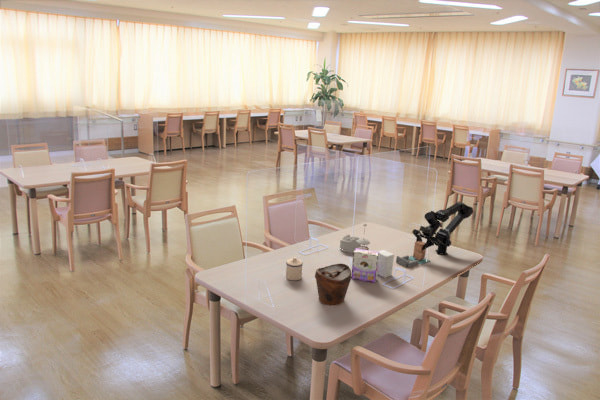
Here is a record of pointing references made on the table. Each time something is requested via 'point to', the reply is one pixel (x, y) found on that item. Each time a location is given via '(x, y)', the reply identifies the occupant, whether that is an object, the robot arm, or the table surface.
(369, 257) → the candy box
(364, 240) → the french press
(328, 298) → the brown tapered cylinder
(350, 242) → the lumpy-topped squat cylinder
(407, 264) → the charcoal u-shaped frame
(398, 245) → the table surface
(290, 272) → the teacup with lid
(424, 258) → the teal mat
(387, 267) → the small box
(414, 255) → the terracotta block
